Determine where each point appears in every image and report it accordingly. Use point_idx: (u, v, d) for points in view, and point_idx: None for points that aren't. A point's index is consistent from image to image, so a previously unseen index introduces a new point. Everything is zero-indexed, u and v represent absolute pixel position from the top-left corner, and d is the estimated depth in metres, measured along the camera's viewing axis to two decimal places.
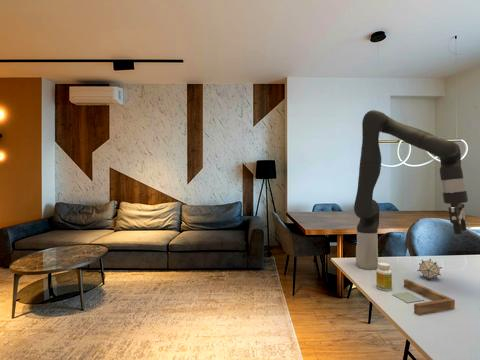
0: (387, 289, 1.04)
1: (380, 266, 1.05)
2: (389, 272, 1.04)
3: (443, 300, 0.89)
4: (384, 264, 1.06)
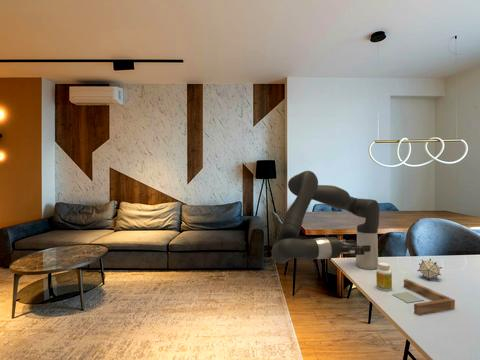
0: (387, 289, 1.04)
1: (380, 266, 1.05)
2: (389, 272, 1.04)
3: (443, 300, 0.89)
4: (384, 264, 1.06)
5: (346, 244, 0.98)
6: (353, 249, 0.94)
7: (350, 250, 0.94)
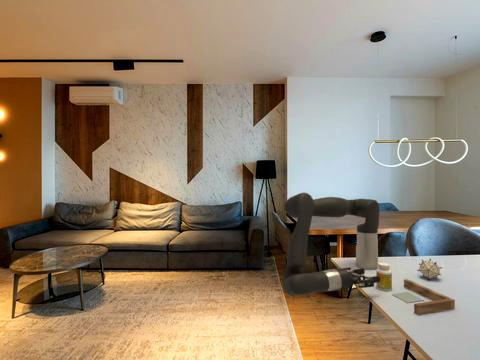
0: (387, 289, 1.04)
1: (380, 266, 1.05)
2: (389, 272, 1.04)
3: (443, 300, 0.89)
4: (384, 264, 1.06)
5: (356, 275, 1.01)
6: (363, 282, 0.96)
7: (360, 283, 0.96)
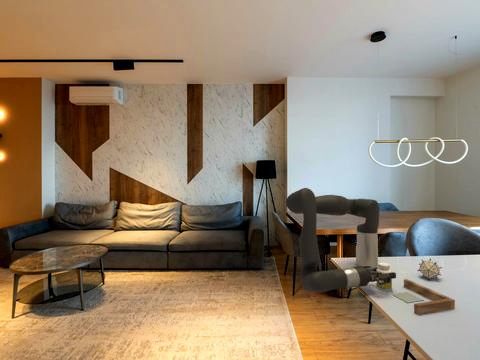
0: (387, 289, 1.04)
1: (380, 266, 1.05)
2: (389, 272, 1.04)
3: (443, 300, 0.89)
4: (384, 264, 1.06)
5: (373, 273, 1.03)
6: (382, 279, 0.98)
7: (380, 280, 0.98)
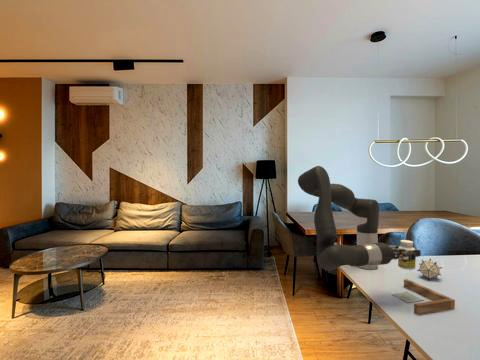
0: (410, 268, 0.95)
1: (403, 243, 0.97)
2: (413, 249, 0.96)
3: (443, 300, 0.89)
4: (407, 241, 0.97)
5: (396, 250, 0.94)
6: (407, 255, 0.90)
7: (405, 256, 0.90)
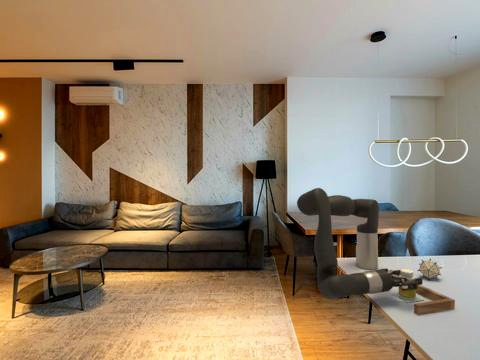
0: (411, 298, 0.95)
1: (403, 273, 0.97)
2: None
3: (443, 300, 0.89)
4: (407, 271, 0.97)
5: (396, 277, 0.94)
6: (406, 284, 0.90)
7: (403, 285, 0.90)
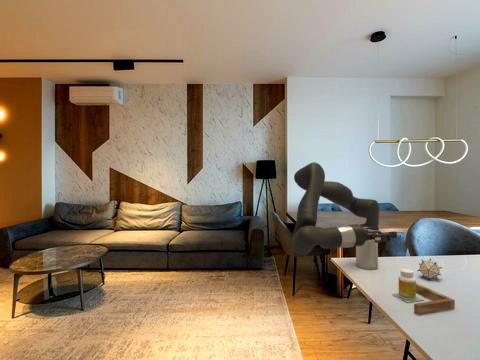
0: (411, 298, 0.95)
1: (403, 273, 0.97)
2: (413, 280, 0.96)
3: (443, 300, 0.89)
4: (407, 271, 0.97)
5: (370, 231, 0.92)
6: (379, 236, 0.88)
7: (376, 237, 0.88)
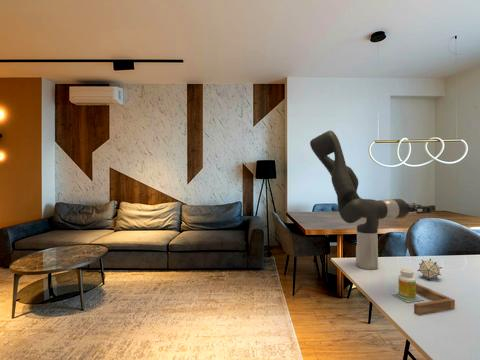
0: (411, 298, 0.95)
1: (403, 273, 0.97)
2: (413, 280, 0.96)
3: (443, 300, 0.89)
4: (407, 271, 0.97)
5: (411, 204, 1.03)
6: (421, 207, 0.98)
7: (418, 208, 0.98)
